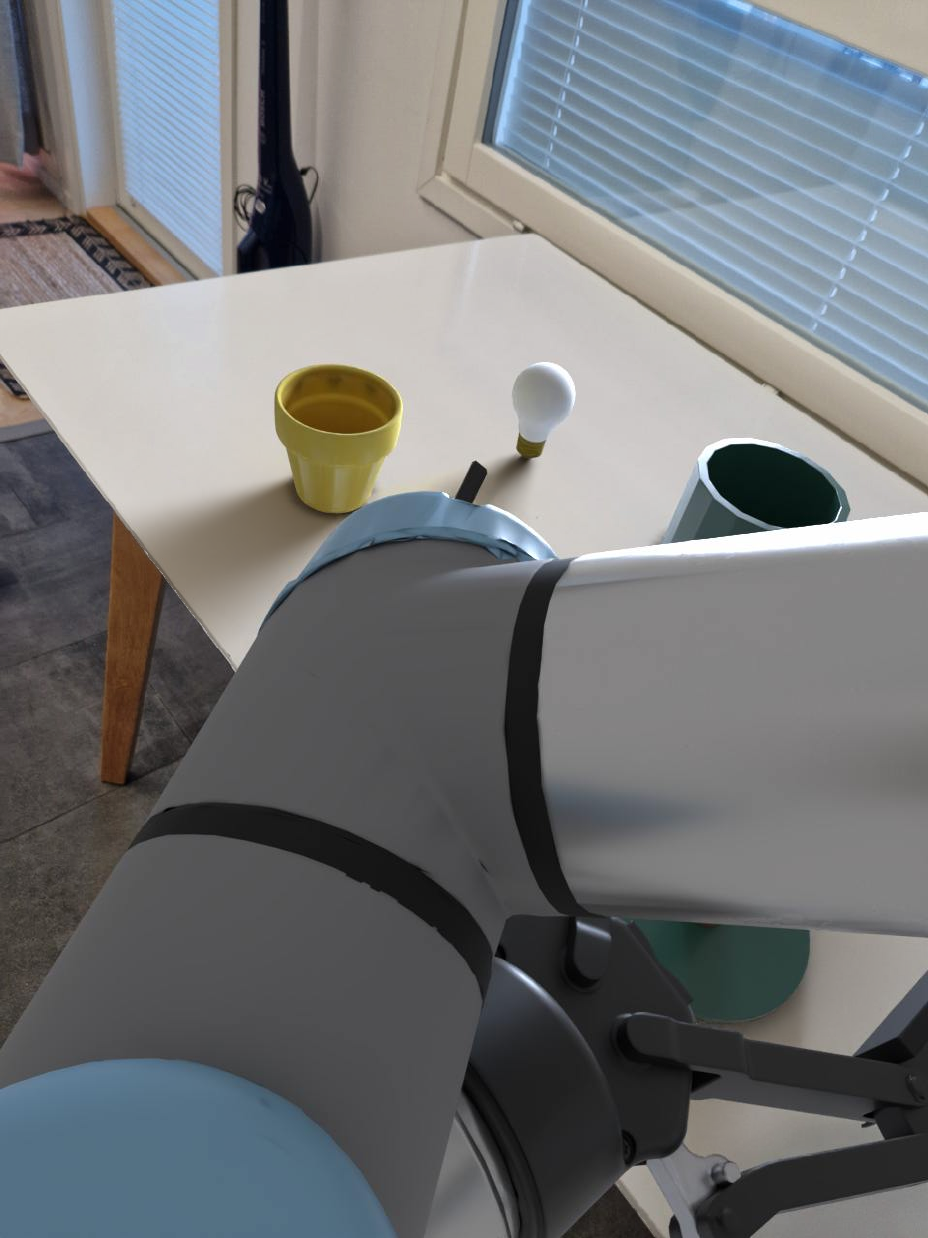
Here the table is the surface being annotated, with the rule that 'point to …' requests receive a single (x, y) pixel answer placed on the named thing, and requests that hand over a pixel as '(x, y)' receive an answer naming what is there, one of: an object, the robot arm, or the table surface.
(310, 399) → the flower pot
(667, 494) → the table surface
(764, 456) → the canister
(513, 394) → the light bulb
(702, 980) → the lid
